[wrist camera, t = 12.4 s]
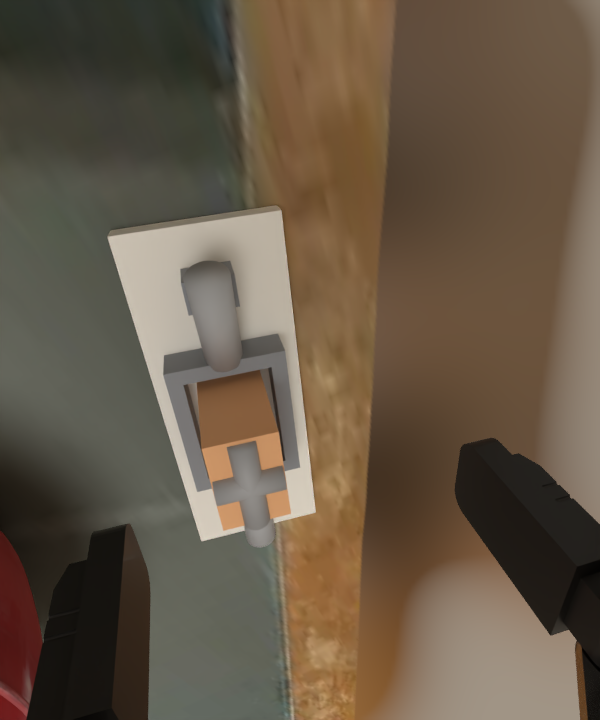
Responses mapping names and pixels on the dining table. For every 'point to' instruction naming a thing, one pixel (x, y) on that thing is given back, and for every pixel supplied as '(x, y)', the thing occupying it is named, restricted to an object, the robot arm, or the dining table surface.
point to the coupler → (242, 450)
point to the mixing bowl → (16, 636)
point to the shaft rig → (217, 337)
